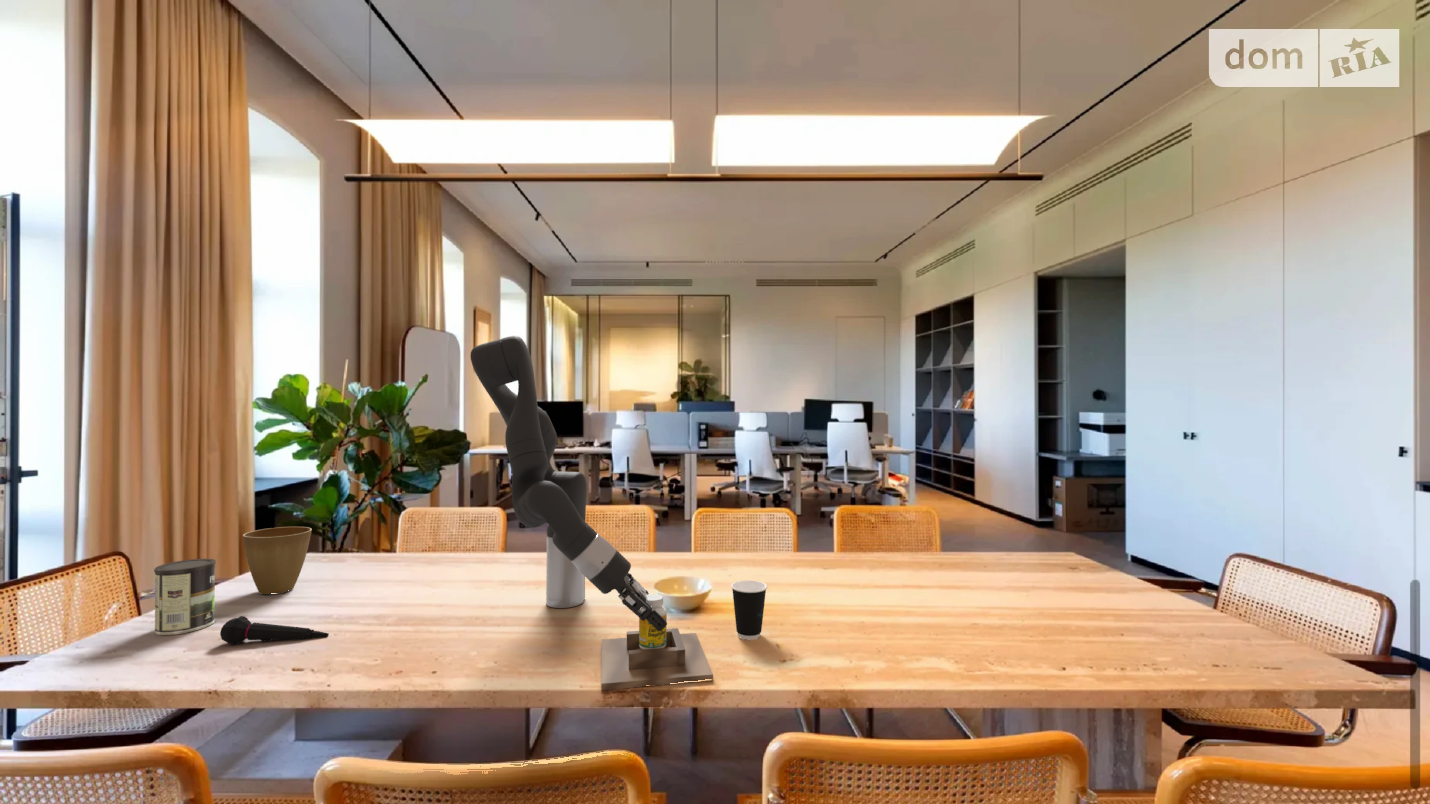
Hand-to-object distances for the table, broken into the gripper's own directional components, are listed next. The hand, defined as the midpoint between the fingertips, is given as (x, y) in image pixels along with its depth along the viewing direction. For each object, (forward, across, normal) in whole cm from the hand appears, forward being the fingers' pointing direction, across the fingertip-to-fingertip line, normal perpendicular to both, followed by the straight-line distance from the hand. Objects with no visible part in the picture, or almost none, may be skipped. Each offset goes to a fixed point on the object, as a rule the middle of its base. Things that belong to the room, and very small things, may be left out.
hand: (662, 621), depth 116 cm
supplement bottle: (+2, 0, +5) cm, 5 cm away
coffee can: (-67, +37, +79) cm, 111 cm away
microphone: (-50, +24, +63) cm, 84 cm away
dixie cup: (+20, +10, -9) cm, 24 cm away
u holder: (+4, 0, +7) cm, 8 cm away
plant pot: (-63, +62, +75) cm, 116 cm away
